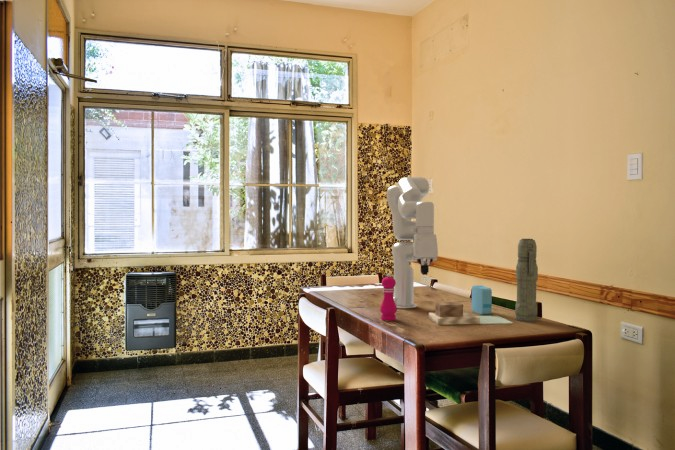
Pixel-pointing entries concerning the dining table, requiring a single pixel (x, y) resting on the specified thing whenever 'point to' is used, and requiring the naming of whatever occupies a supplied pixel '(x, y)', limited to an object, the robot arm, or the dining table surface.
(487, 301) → the data package
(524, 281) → the stone moai statue
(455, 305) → the walnut box
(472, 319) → the board
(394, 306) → the pepper mill
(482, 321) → the mat
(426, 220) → the robot arm
